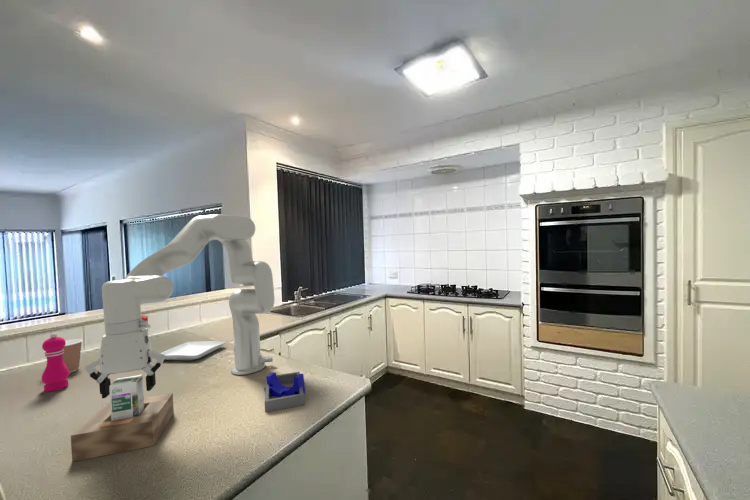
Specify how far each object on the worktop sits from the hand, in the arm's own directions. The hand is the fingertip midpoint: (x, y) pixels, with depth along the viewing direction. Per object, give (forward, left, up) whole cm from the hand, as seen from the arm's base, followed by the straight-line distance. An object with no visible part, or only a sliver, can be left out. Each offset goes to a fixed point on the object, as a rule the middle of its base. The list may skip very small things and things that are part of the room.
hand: (129, 392), depth 83 cm
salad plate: (+1, -69, -12) cm, 69 cm away
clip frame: (-39, -8, -11) cm, 41 cm away
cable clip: (-39, -8, -11) cm, 41 cm away
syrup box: (0, 0, -11) cm, 11 cm away
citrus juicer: (+30, -83, -11) cm, 89 cm away
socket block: (0, 0, -11) cm, 11 cm away
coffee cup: (+47, -67, -11) cm, 82 cm away
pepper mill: (+40, -47, -11) cm, 63 cm away
